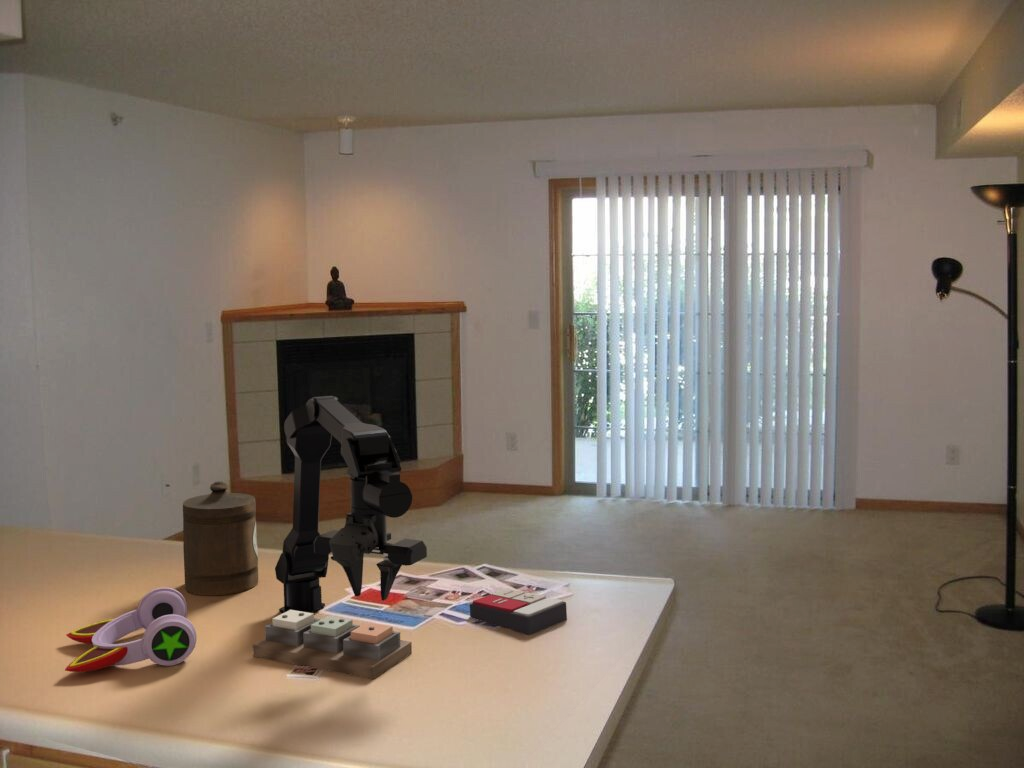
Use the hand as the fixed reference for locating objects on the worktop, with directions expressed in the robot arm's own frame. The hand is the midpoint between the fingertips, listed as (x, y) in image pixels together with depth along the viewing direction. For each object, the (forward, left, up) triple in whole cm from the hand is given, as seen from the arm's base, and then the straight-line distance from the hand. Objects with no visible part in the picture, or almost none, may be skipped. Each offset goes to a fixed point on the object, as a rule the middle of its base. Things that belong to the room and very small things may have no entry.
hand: (370, 597), depth 165 cm
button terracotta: (0, 0, -7) cm, 7 cm away
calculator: (+13, +29, -12) cm, 34 cm away
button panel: (-8, 0, -11) cm, 14 cm away
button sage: (-8, 0, -7) cm, 11 cm away
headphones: (-41, -13, -12) cm, 44 cm away
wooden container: (-52, +23, -11) cm, 58 cm away
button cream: (-16, 0, -7) cm, 18 cm away
